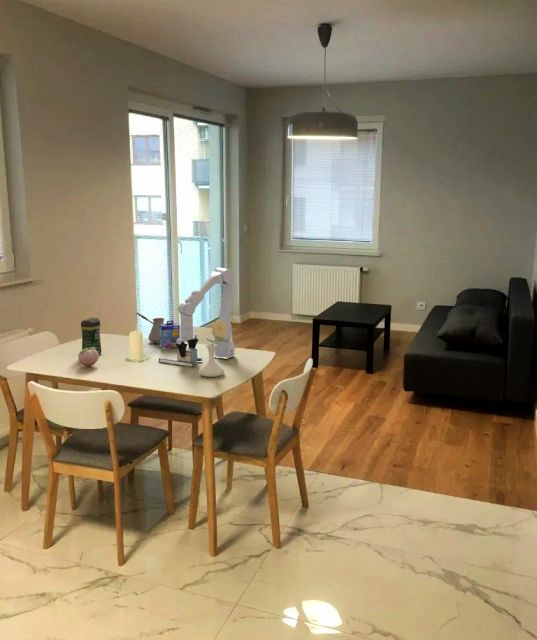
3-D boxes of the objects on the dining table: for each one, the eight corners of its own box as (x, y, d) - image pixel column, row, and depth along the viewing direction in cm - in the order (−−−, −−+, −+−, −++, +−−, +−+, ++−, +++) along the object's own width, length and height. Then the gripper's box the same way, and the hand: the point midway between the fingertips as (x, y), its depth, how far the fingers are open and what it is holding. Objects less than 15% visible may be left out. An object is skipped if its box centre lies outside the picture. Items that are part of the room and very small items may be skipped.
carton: (183, 361, 297) (183, 347, 295) (197, 363, 293) (197, 349, 292) (177, 363, 292) (176, 349, 291) (191, 365, 289) (191, 351, 287)
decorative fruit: (89, 363, 291) (88, 342, 289) (102, 365, 288) (101, 345, 285) (74, 368, 283) (73, 347, 281) (87, 370, 279) (86, 349, 277)
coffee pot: (174, 341, 334) (173, 314, 331) (160, 346, 325) (160, 318, 322) (143, 336, 345) (142, 310, 341) (129, 341, 335) (128, 314, 332)
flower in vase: (201, 379, 267) (200, 323, 262) (197, 372, 278) (196, 318, 273) (230, 377, 271) (230, 322, 266) (225, 370, 282) (225, 317, 276)
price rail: (205, 362, 294) (205, 358, 294) (193, 367, 285) (193, 363, 285) (170, 357, 303) (170, 353, 303) (158, 362, 294) (158, 358, 294)
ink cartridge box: (162, 349, 318) (161, 321, 315) (159, 346, 323) (158, 319, 320) (180, 347, 322) (180, 320, 319) (177, 345, 327) (176, 318, 324)
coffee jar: (93, 358, 300) (91, 321, 296) (79, 356, 302) (77, 319, 299) (104, 353, 309) (102, 317, 306) (90, 352, 312) (88, 316, 308)
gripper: (185, 331, 281) (185, 360, 284) (202, 325, 294) (202, 352, 297) (172, 329, 284) (173, 358, 287) (189, 324, 297) (190, 351, 300)
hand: (187, 355), depth 292 cm, fingers open, 7 cm apart
